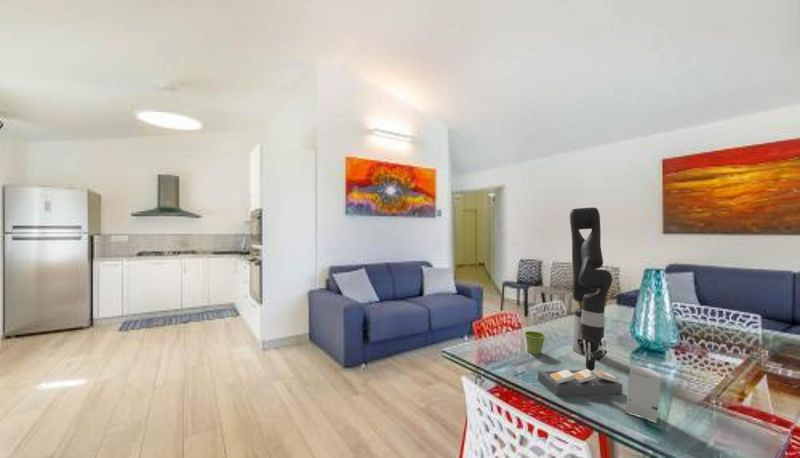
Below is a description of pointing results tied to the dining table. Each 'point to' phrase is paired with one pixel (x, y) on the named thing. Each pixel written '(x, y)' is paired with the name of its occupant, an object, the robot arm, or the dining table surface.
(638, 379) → the skincare box
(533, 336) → the plant pot
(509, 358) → the dining table surface
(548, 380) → the power strip
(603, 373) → the rocker
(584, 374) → the rocker
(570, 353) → the dining table surface
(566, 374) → the rocker
